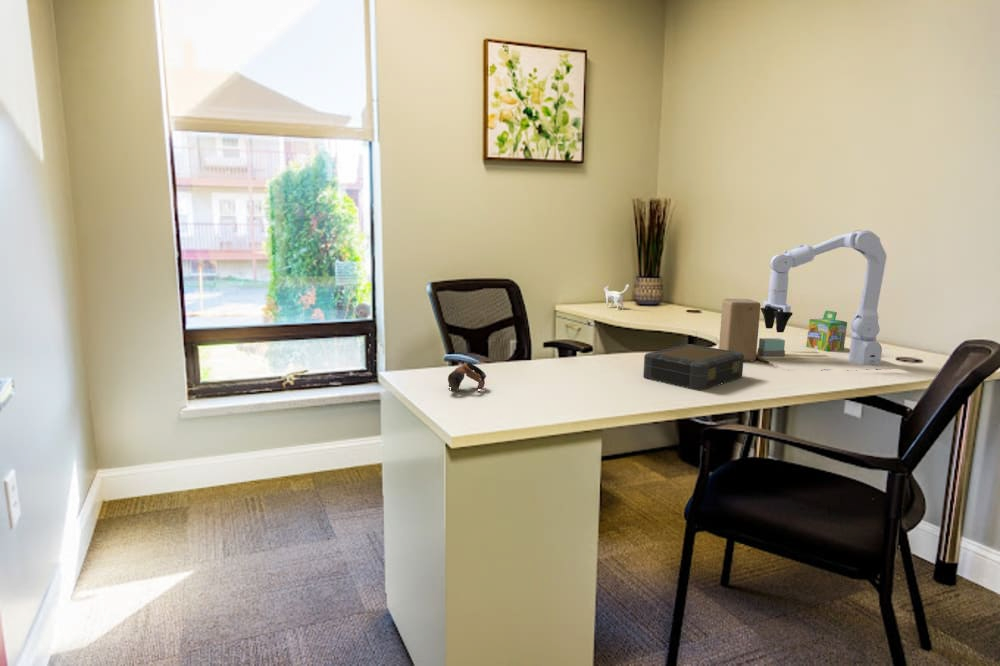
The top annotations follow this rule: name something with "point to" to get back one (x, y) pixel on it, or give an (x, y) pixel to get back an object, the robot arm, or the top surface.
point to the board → (797, 356)
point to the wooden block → (740, 327)
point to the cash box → (693, 366)
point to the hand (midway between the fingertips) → (774, 330)
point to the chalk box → (826, 333)
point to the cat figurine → (614, 296)
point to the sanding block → (771, 347)
